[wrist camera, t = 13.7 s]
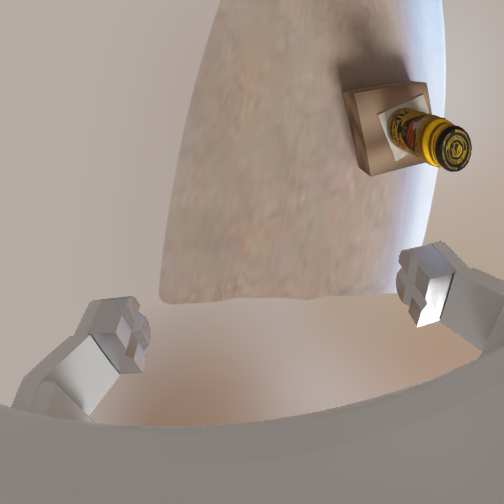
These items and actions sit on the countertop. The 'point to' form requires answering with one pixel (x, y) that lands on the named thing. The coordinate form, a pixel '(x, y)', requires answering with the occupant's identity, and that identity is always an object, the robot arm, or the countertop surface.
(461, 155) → the condiment
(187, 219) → the countertop surface
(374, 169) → the walnut block
